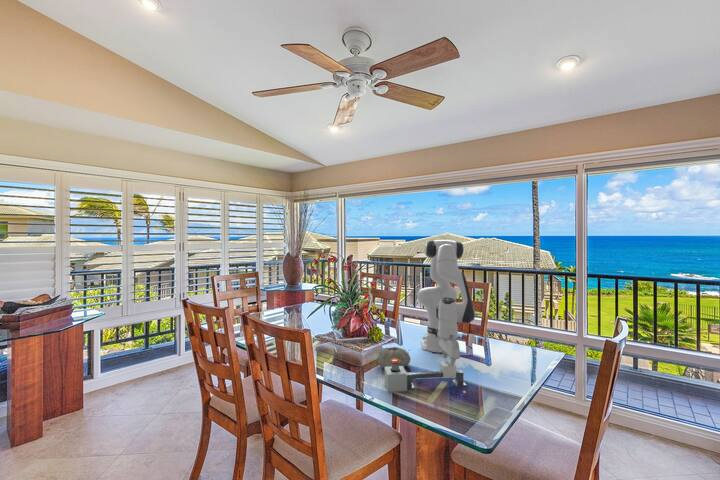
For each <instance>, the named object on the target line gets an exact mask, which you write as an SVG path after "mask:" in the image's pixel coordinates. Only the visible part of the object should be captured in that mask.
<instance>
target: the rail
mask: <svg viewBox="0 0 720 480" xmlns="http://www.w3.org/2000/svg"><path fill="white" fill-rule="evenodd" d="M406 373H407V390H415V389H416V388H415V386H414V383H413V380H414V379H415V380H416V379H434V378H443V372H442V371H440V370H439V371H418V372H417V371H416V372H409V371H408V372H407V371H406ZM451 382H452V383H453V384H454V385H455V387H456V388H459V387H460V388H462V387H467V385H468V384H466V382H465V381H464V371H463V370H462V369H456V377H454V379H452V380H451Z"/></svg>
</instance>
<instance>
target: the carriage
mask: <svg viewBox="0 0 720 480" xmlns="http://www.w3.org/2000/svg"><path fill="white" fill-rule="evenodd" d="M439 366H440V367H439V369H440V370H439V371H442V372H443V377H442V378H443V379H446V378H448V379H449V378H455V377H456V370H457V365H456V364H455V365H454V366H451V365H450V361H448V360H446V361H440V362H439Z"/></svg>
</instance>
